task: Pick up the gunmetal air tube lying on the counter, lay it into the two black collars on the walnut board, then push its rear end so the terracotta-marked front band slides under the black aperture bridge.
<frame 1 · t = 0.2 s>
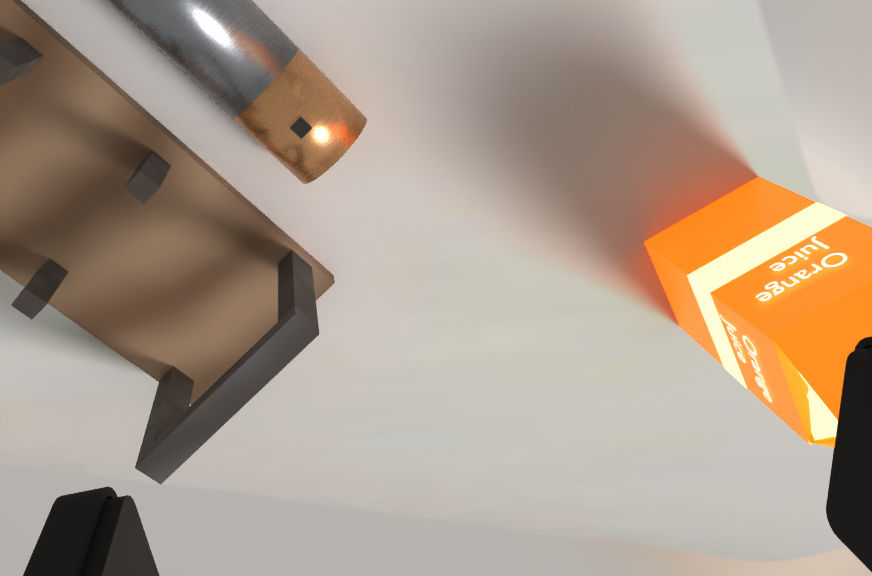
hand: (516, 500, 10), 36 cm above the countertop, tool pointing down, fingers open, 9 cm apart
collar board: (45, 164, 41), on the countertop
orange juice: (716, 252, 52), on the countertop
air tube: (194, 4, 40), on the countertop
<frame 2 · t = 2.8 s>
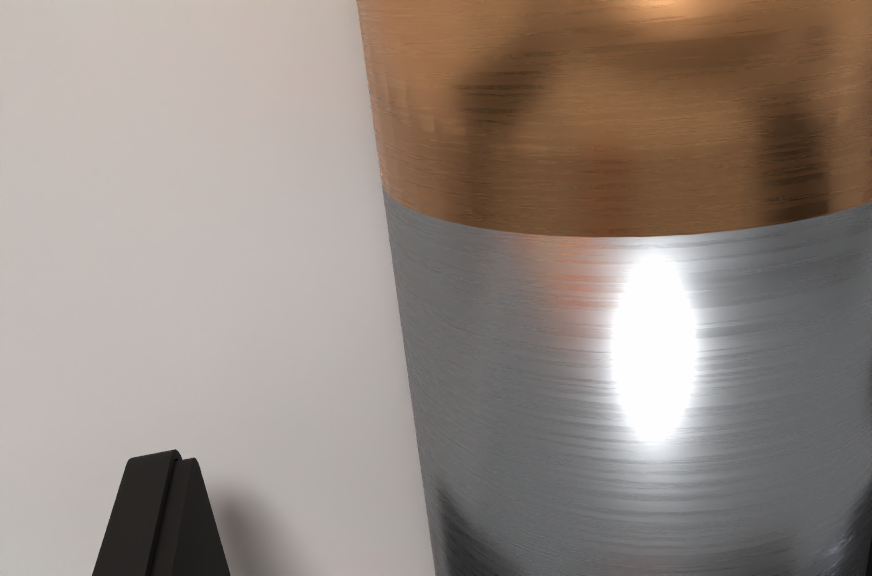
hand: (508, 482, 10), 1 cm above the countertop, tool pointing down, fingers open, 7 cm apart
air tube: (464, 486, 11), point 1 cm above the countertop, tilted 44°, touching gripper
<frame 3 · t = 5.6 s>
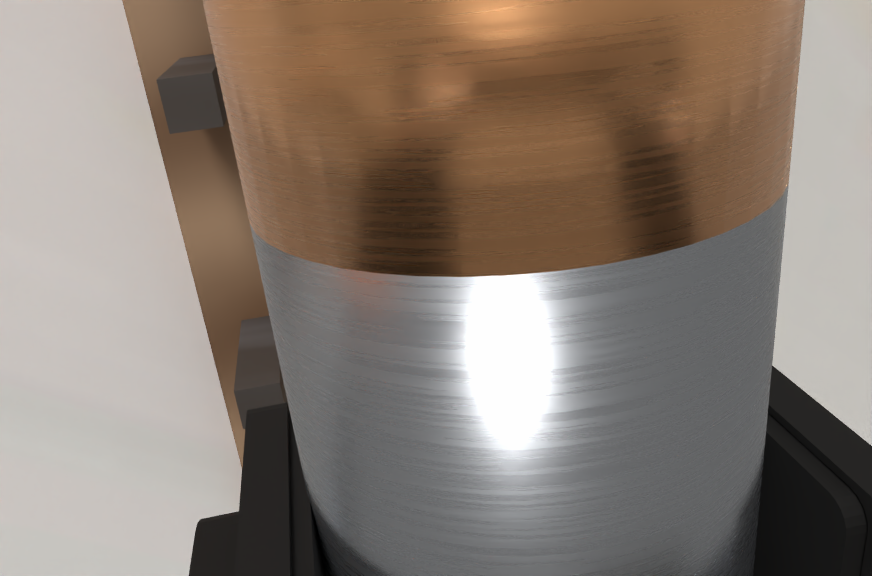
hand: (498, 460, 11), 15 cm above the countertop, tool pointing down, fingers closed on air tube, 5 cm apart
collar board: (376, 182, 24), on the countertop
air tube: (425, 468, 11), point 14 cm above the countertop, tilted 22°, touching gripper
when the fingers open (3 cm above the countertop, at t = 8.1 s): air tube stays where it is, resting on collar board.
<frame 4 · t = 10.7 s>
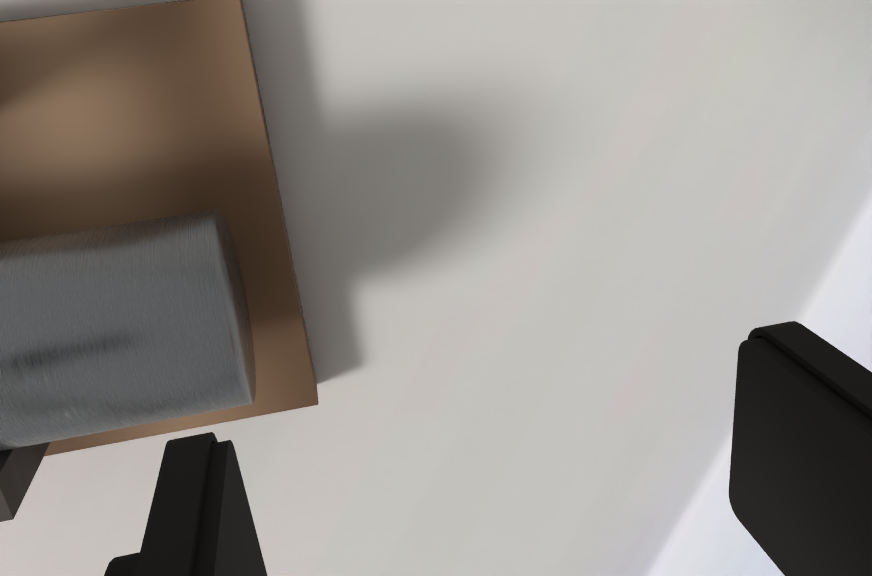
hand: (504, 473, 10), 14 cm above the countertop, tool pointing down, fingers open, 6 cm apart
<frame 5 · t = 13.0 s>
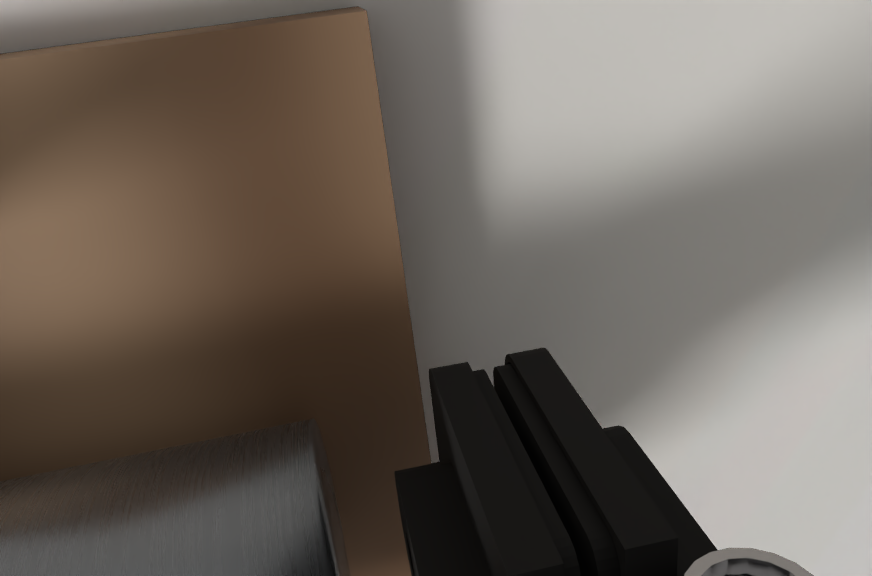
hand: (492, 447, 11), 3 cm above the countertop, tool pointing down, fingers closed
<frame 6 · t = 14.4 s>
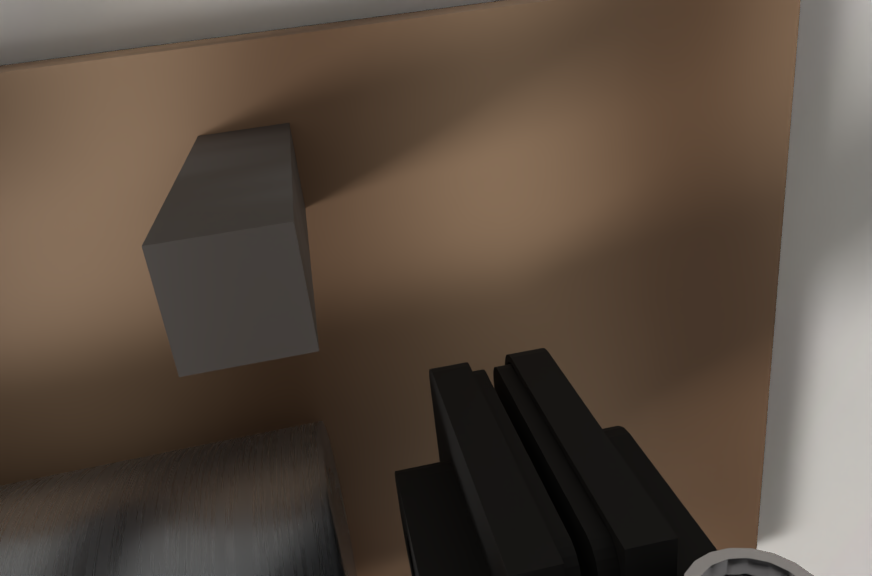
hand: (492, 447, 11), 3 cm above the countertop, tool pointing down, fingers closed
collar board: (67, 443, 13), on the countertop
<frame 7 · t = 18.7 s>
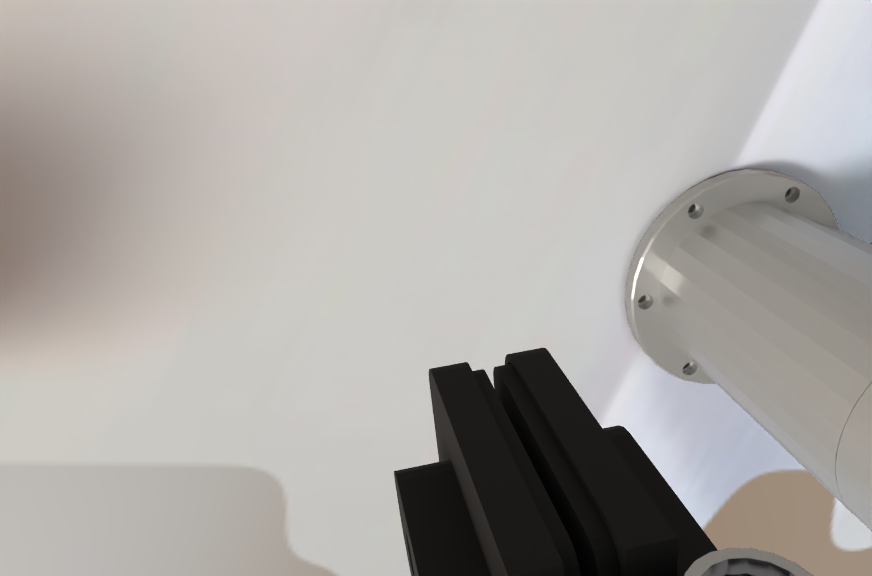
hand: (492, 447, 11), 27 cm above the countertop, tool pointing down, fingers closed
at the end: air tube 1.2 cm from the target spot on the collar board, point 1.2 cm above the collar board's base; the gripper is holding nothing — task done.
